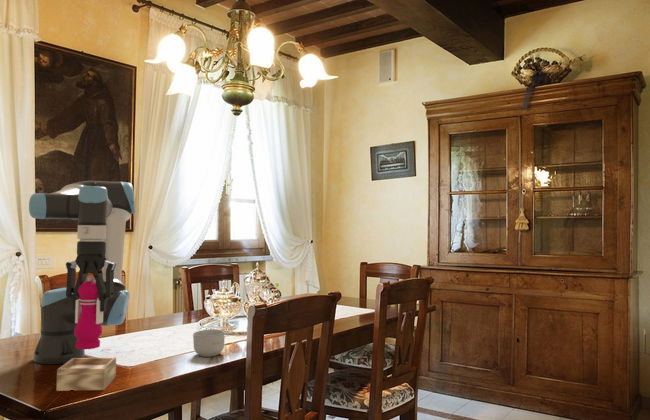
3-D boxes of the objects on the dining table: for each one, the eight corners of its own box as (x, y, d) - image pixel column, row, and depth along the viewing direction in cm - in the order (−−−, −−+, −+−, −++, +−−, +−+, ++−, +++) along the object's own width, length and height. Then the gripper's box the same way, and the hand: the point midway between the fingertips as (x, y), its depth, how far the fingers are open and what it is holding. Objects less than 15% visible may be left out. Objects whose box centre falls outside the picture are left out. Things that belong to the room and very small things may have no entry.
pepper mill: (73, 350, 146) (75, 277, 146) (74, 345, 152) (76, 274, 153) (101, 348, 149) (104, 276, 149) (101, 343, 155) (103, 274, 156)
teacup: (216, 359, 179) (217, 335, 179) (186, 357, 181) (187, 333, 182) (232, 350, 193) (232, 328, 193) (204, 348, 195) (204, 326, 195)
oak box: (56, 390, 144) (57, 369, 144) (71, 377, 156) (72, 358, 156) (103, 389, 145) (104, 368, 145) (115, 377, 157) (116, 357, 157)
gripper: (52, 240, 148) (50, 324, 147) (117, 241, 147) (115, 326, 146) (67, 239, 156) (64, 319, 155) (128, 240, 155) (126, 321, 154)
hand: (89, 322), depth 151 cm, fingers closed on pepper mill, 5 cm apart
